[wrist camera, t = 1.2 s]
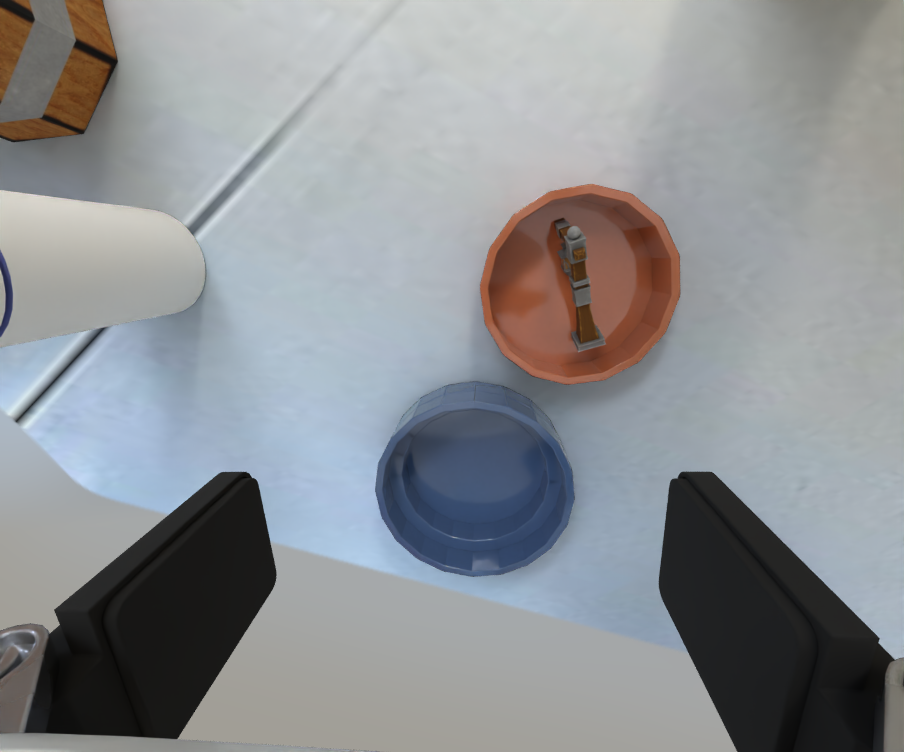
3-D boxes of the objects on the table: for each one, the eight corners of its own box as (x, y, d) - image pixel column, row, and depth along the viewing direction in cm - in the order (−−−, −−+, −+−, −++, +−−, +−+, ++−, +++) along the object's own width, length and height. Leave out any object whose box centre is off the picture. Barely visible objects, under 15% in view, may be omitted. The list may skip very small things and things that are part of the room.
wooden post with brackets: (570, 200, 25) (594, 226, 22) (586, 309, 30) (607, 346, 26) (541, 210, 25) (560, 238, 22) (561, 317, 30) (579, 354, 27)
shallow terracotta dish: (656, 177, 25) (678, 167, 22) (660, 358, 28) (681, 370, 25) (470, 211, 27) (468, 205, 24) (493, 379, 30) (494, 394, 27)
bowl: (553, 369, 29) (564, 389, 25) (569, 527, 33) (581, 569, 28) (374, 392, 31) (356, 415, 27) (408, 541, 34) (396, 582, 30)
